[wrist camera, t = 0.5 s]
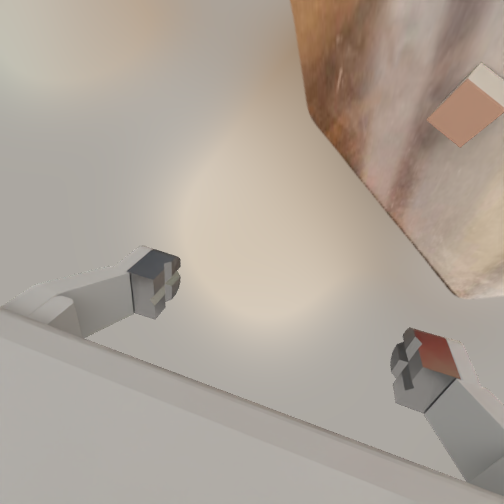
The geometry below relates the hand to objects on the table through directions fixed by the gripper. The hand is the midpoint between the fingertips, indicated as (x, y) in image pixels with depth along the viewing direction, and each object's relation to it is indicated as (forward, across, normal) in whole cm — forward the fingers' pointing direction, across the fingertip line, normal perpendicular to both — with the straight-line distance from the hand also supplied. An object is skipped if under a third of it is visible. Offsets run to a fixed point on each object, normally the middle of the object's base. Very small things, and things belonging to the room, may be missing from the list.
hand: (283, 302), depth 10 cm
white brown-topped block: (+47, -18, -8) cm, 51 cm away
